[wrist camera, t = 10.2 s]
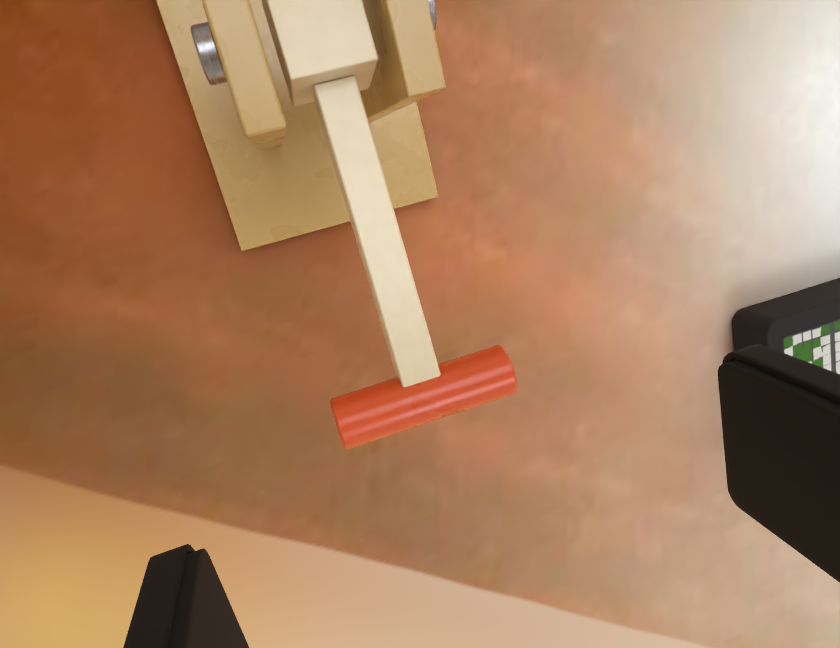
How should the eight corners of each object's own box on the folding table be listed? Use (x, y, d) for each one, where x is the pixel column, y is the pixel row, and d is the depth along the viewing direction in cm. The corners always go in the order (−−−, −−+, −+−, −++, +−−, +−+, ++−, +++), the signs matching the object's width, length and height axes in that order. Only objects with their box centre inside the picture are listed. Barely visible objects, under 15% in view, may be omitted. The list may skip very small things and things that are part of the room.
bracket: (432, 195, 28) (548, 218, 16) (243, 247, 27) (215, 315, 15) (364, -94, 25) (448, -344, 12) (141, -50, 23) (-5, -283, 11)
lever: (500, 384, 18) (528, 401, 16) (342, 437, 18) (347, 462, 15) (389, -24, 17) (402, -73, 14) (210, 15, 16) (192, -30, 14)
